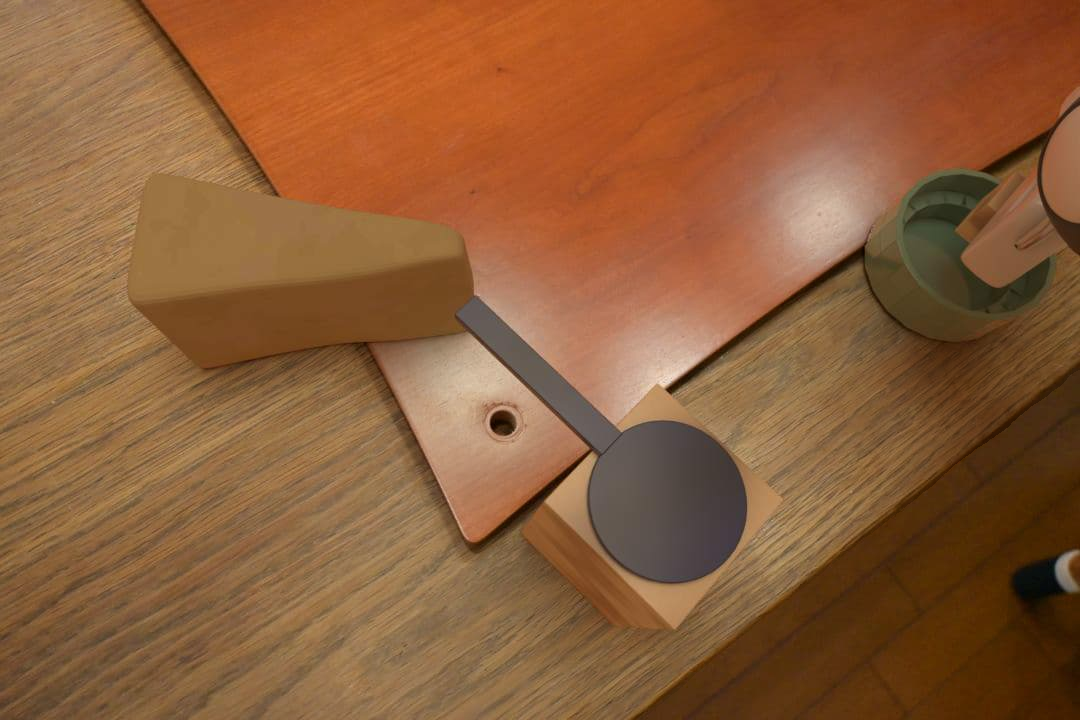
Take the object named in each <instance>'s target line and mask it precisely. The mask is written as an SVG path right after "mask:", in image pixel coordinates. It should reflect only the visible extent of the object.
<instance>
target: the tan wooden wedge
mask: <svg viewBox="0 0 1080 720" xmlns="http://www.w3.org/2000/svg"><path fill="white" fill-rule="evenodd" d="M136 220H137V221H136V225H135V226H136V227H135V232H134V237H133V242H132V243H133V244H132V249H131V256H130V259H129V265H128V274H127V283H126V284H127V286H126V291H127V296H128V300H129V302H130V303H131V305H132V306H133V307H134V308H135V309H136V310H137V311H138V312H139V313H140V314H141V315H142V316H144V317H145V319H147V320H148V321H149V322H150V323H151V325H153V326H154V327H155V328H156V329H157V330H158V331H159V332H160V333H162V334H163V335H164V337H166V338H167V339H168V340H169V341H170V342H171V343H172V344H173V345H174V346H175V347H176V348H177V349H179V351H180V352H181V353H182V354H183V355H184V356H185V357H186V358H188V359H189V361H191V363H193V364H194V365H195V366H197V367H198V368H201V369H211V368H217V367H221V366H226V365H230V364H235V363H239V362H240V363H241V362H244V361H250V360H255V359H259V358H260V359H261V358H265V357H270V356H274V355H275V356H276V355H280V354H284V353H290V352H295V351H299V350H300V351H301V350H307V349H312V348H318V347H319V348H320V347H324V346H332V345H339V344H340V345H341V344H351V343H366V342H367V343H370V342H371V343H372V342H391V341H402V340H412V339H413V340H414V339H420V338H429V337H435V336H444V335H451V334H459V333H464V332H466V331H467V330H466V329H465V328H464V327H463V326H462V325H461V324H460V323H459V322H458V321H456V320H455V313H456V312H457V311H458V310H459V309H461V308H462V307H463V306H464V305H465V304H466V303H467V302H468V301H469V300H471V299H472V298H473V297H474V296H475V284H474V274H473V271H472V270H473V268H472V265H471V262H470V258H469V253H468V250H467V246H466V242H465V238H464V236H463V235H462V233H461V232H460V231H458V230H457V229H456V228H453V227H451V226H448V225H444V224H441V223H438V222H437V223H436V222H433V221H428V220H422V219H416V218H410V217H409V218H408V217H402V216H396V215H388V214H382V213H381V214H380V213H373V212H368V211H361V210H354V209H347V208H342V207H336V206H331V205H324V204H319V203H312V202H307V201H303V200H296V199H292V198H287V197H280V196H277V195H276V196H275V195H271V194H266V193H262V192H257V191H252V190H247V189H242V188H238V187H233V186H228V185H223V184H219V183H215V182H214V183H213V182H209V181H206V180H205V181H204V180H199V179H194V178H189V177H185V176H179V175H174V174H169V173H161V172H156V173H153V174H151V175H149V176H148V178H147V180H146V181H145V183H144V186H143V190H142V193H141V198H140V204H139V209H138V214H137V219H136ZM467 332H468V331H467Z"/></svg>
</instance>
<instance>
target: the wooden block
mask: <svg viewBox="0 0 1080 720" xmlns="http://www.w3.org/2000/svg"><path fill="white" fill-rule="evenodd" d="M1025 179H1026V177H1025V176H1023V175H1022V174H1021V173H1020V172H1018V171H1015V172H1014V173H1012V174H1011V175H1010V176H1009V177H1007V178H1006V179H1005V180H1003V181H1004V182H1003V183H1001V184H1000V185H999V186H997V187H996V188H995V189H994V190H992V191H991V192H990V193H989V194H987V195H986V196H985V197H984V198H982V199H981V201H980V202H979V203H978V204H977V205H976V206H975V207H974V209H973V210H972V211H971V212H970V213H969V214H968V215H967V217H966V218H965V219H964V220H963V221H962V222H961V224H960V225H959V226H958V227H957V228H956V229H955V232H956V233H957V234H959V235H960V236H961V237H962V238H964V239H965V240H966V241H967V242H968V243H971V242H972V241H973V240H974V238H975V237H976V236H977V235H978V234H979V233H980V231H981V230H982V229H983V228H984V227H985V226H986V224H987V223H988V222H989V221H990V220H991V218H992V217H993V216H994V215H995V214H996V213H997V211H998V210H999V209H1000V208H1001V207H1002V206H1003V204H1004V203H1005V202H1006V201H1007V200H1008V198H1009V197H1010V196H1011V195H1012V194H1013V193H1014V191H1015V190H1016V189H1017V188H1018V187H1019V186H1020V184H1021V183H1022V182H1023V181H1024V180H1025Z"/></svg>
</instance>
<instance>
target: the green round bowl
mask: <svg viewBox="0 0 1080 720" xmlns="http://www.w3.org/2000/svg"><path fill="white" fill-rule="evenodd" d="M1004 181H1005V180H1002V179H1000V178H999V177H996V176H993V175H991V174H989V173H987V172H984V171H977V170H973V169H968V168H967V169H966V168H960V167H959V168H950V169H941V170H936V171H934V172H933V173H930V174H927V175H926V176H924V177H922V178H919V179H918V180H916V181H915V182H914V183H913V184H912V185H911V186H910V187H909V188H908V189H907V190H906V191H905V192H904V193H903V194H901V196H899V197H898V198H897V199H896V201H894V202H893V203H892V204H891V205H890V206H889V207H888V208H887V209H886V210H885V211H884V212H885V213H884V212H883V213H884V214H883V213H882V214H883V215H882V214H881V215H882V216H881V215H880V216H881V217H880V216H879V217H878V219H877V220H876V221H875V222H874V223H875V224H874V223H873V224H874V227H873V229H872V232H871V235H870V238H869V240H868V242H867V244H866V245H865V244H864V268H865V272H866V274H867V277H868V280H869V284H870V287H871V289H872V291H873V293H874V294H875V295H876V298H877V299H878V300H879V302H880V303H881V305H882V307H884V309H885V311H887V312H888V314H890V315H891V316H892V317H894V318H895V319H896V320H897V321H898V322H900V324H902V325H903V326H904V327H905V328H907V329H909V330H911V331H913V332H915V333H918V334H920V335H922V336H924V337H926V338H928V339H931V340H932V339H933V340H938V341H944V342H949V343H959V342H966V341H973V340H977V339H979V338H981V337H983V336H985V335H987V334H988V333H989V334H990V333H991V332H992V331H995V330H996V329H999V328H1000V327H1002V326H1003V325H1005V324H1008V323H1009V322H1012V321H1013V320H1015V319H1017V318H1019V317H1021V316H1022V315H1024V314H1026V313H1028V312H1030V311H1032V310H1033V309H1034V308H1035V309H1036V308H1037V307H1038V306H1039V305H1040V303H1041V302H1042V301H1043V299H1044V298H1045V297H1046V296H1047V294H1048V293H1049V292H1050V290H1051V289H1052V286H1053V282H1054V279H1055V275H1056V272H1057V267H1058V265H1057V255H1056V252H1054V253H1053V254H1052V255H1050V256H1049V257H1048V258H1046V259H1045V260H1043V261H1042V262H1041V263H1039V264H1038V265H1036V266H1035V267H1033V268H1032V269H1030V270H1029V271H1027V272H1026V273H1024V274H1023V275H1021V276H1020V277H1019V278H1017V279H1016V280H1014V281H1013V282H1011V283H1009V284H1008V285H1006V286H1004V287H1001V288H996V287H992V286H990V285H988V284H987V283H985V282H984V281H983V280H981V279H980V278H979V277H977V276H976V275H975V274H974V273H973V272H972V271H971V270H969V269H968V268H967V267H966V266H965V265H964V263H963V262H962V261H961V255H962V253H963V251H964V250H965V249H966V248H967V247H968V245H969V244H970V243H968V242H967V241H966V240H965V239H964V238H962V237H961V236H960V235H959V234H957V233H956V232H955V229H956V228H957V227H958V226H959V225H960V224H961V222H962V221H963V220H964V219H965V218H966V217H967V215H968V214H969V213H970V212H971V211H972V210H973V209H974V207H975V206H976V205H977V204H978V203H979V202H980V201H981V199H982V198H984V197H985V196H986V195H987V194H989V193H990V192H991V191H992V190H994V189H995V188H996V187H997V186H999V185H1000V184H1001V183H1003V182H1004Z"/></svg>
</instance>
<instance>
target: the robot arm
mask: <svg viewBox="0 0 1080 720" xmlns="http://www.w3.org/2000/svg"><path fill="white" fill-rule="evenodd" d="M1025 178H1026V179H1025V180H1024V181H1023V182H1022V183H1021V184H1020V186H1019V187H1018V188H1017V189H1016V190H1015V191H1014V193H1013V194H1012V195H1011V196H1010V197H1009V198H1008V200H1007V201H1006V202H1005V203H1004V204H1003V206H1002V207H1001V208H1000V209H999V210H998V211H997V213H996V214H995V215H994V216H993V217H992V218H991V220H990V221H989V222H988V223H987V224H986V226H985V227H984V228H983V229H982V230H981V231H980V233H979V234H978V235H977V236H976V237H975V238H974V240H973V241H972V242H971V243H970V244H969V245H968V247H967V248H966V249H965V250H964V251H963V253H962V255H961V261H962V262H963V263H964V265H965V266H966V267H967V268H968V269H969V270H971V271H972V272H973V273H974V274H975V275H976V276H977V277H979V278H980V279H981V280H983V281H984V282H985V283H987V284H988V285H990V286H992V287H996V288H1001V287H1004V286H1006V285H1008V284H1009V283H1011V282H1013V281H1014V280H1016V279H1017V278H1019V277H1020V276H1021V275H1023V274H1024V273H1026V272H1027V271H1029V270H1030V269H1032V268H1033V267H1035V266H1036V265H1038V264H1039V263H1041V262H1042V261H1043V260H1045V259H1046V258H1048V257H1049V256H1050V255H1052V254H1053V253H1054V252H1055V253H1056V252H1057V251H1059V250H1060V249H1062V247H1063V246H1065V245H1067V246H1068V247H1069V248H1070V249H1071V251H1072V252H1073V253H1075V254H1076V255H1077V256H1079V257H1080V85H1078V86H1077V87H1076V88H1074V90H1072V91H1071V92H1070V93H1069V94H1068V95H1067V96H1066V97H1065V99H1064V101H1063V102H1062V104H1061V106H1060V109H1059V112H1058V118H1057V120H1056V122H1055V123H1054V125H1053V126H1052V127H1051V129H1050V131H1049V132H1048V134H1047V136H1046V138H1045V140H1044V142H1043V144H1042V147H1041V151H1040V153H1039V158H1038V163H1037V164H1036V165H1035V166H1034V168H1033V169H1032V170H1031V171H1030V173H1029V174H1028V175H1027V176H1026V177H1025Z"/></svg>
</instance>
